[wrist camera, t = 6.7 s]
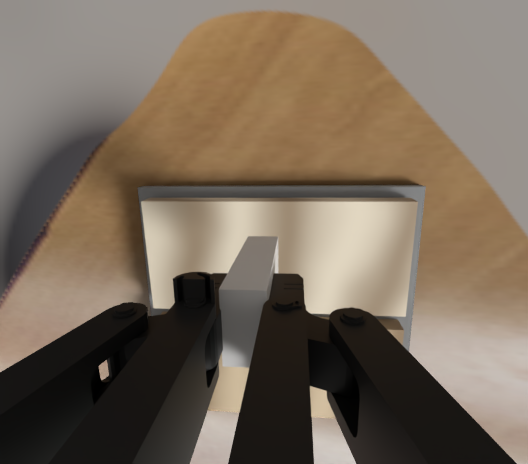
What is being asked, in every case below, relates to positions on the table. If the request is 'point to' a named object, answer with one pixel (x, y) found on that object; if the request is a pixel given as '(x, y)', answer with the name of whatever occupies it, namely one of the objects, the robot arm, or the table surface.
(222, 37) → the table surface
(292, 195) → the underlay mat
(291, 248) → the birch plank
